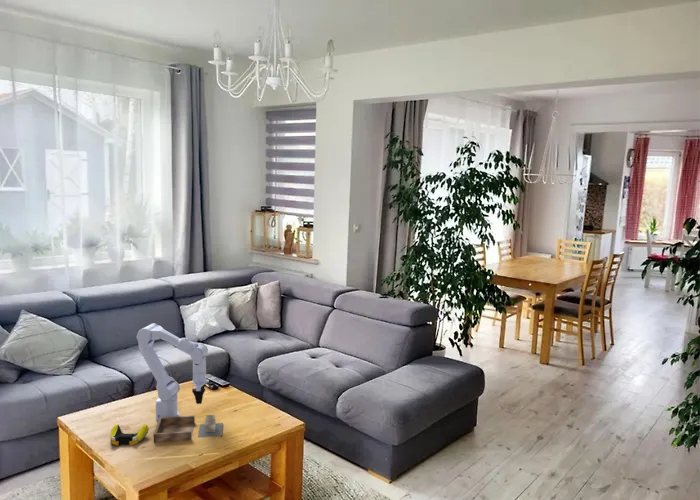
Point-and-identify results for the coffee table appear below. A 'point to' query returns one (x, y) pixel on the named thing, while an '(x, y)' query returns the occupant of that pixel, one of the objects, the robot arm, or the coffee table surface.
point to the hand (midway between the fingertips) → (199, 400)
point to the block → (210, 423)
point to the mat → (208, 434)
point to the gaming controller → (127, 436)
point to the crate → (174, 428)
